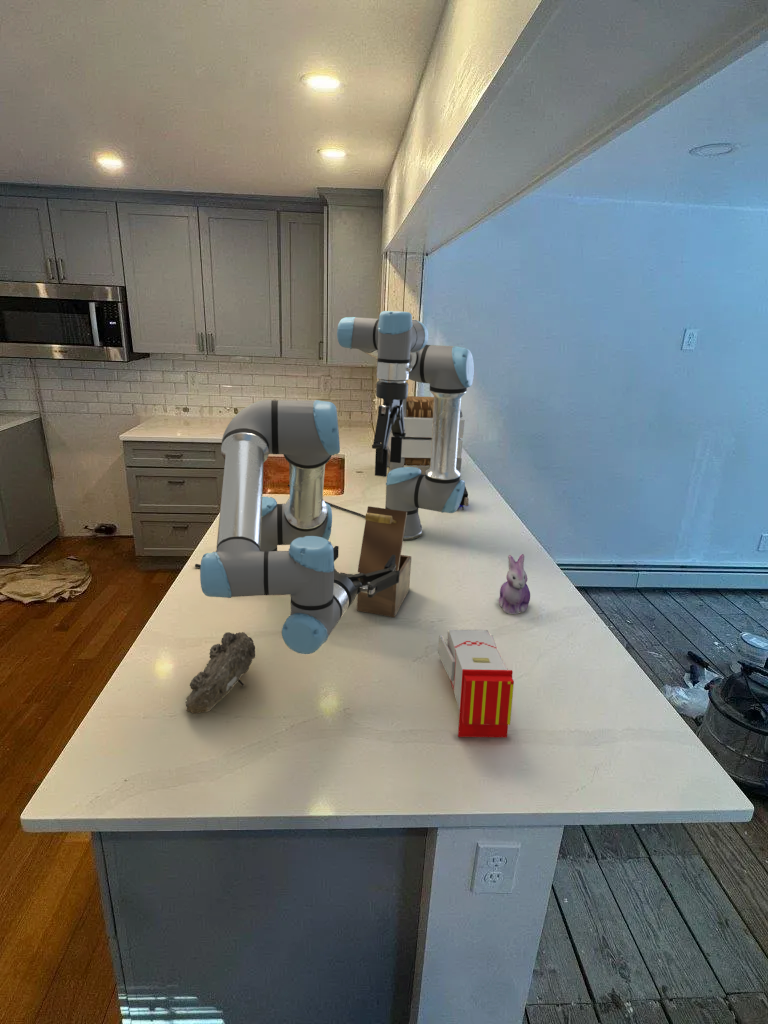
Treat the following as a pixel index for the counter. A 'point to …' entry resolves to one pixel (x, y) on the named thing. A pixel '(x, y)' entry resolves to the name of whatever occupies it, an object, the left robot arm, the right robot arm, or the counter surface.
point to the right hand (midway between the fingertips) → (388, 468)
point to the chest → (388, 593)
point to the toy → (478, 682)
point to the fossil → (221, 671)
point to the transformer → (420, 434)
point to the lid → (381, 538)
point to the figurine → (515, 588)
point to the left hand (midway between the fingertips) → (365, 555)
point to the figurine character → (464, 499)
